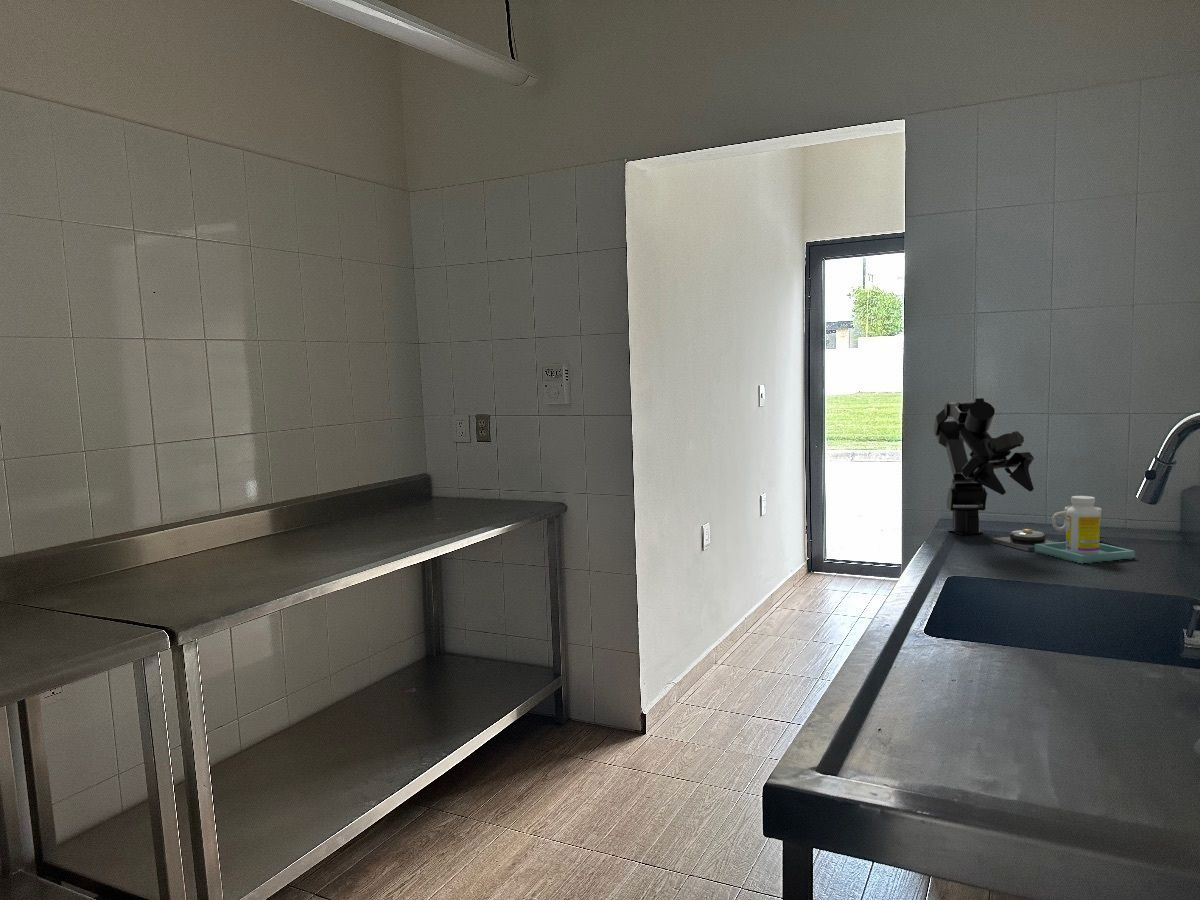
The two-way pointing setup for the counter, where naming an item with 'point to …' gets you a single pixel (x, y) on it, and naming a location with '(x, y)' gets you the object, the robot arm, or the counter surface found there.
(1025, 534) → the block
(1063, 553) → the tray
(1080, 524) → the supplement bottle
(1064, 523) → the cup
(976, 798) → the counter surface
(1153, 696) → the counter surface
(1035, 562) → the counter surface
